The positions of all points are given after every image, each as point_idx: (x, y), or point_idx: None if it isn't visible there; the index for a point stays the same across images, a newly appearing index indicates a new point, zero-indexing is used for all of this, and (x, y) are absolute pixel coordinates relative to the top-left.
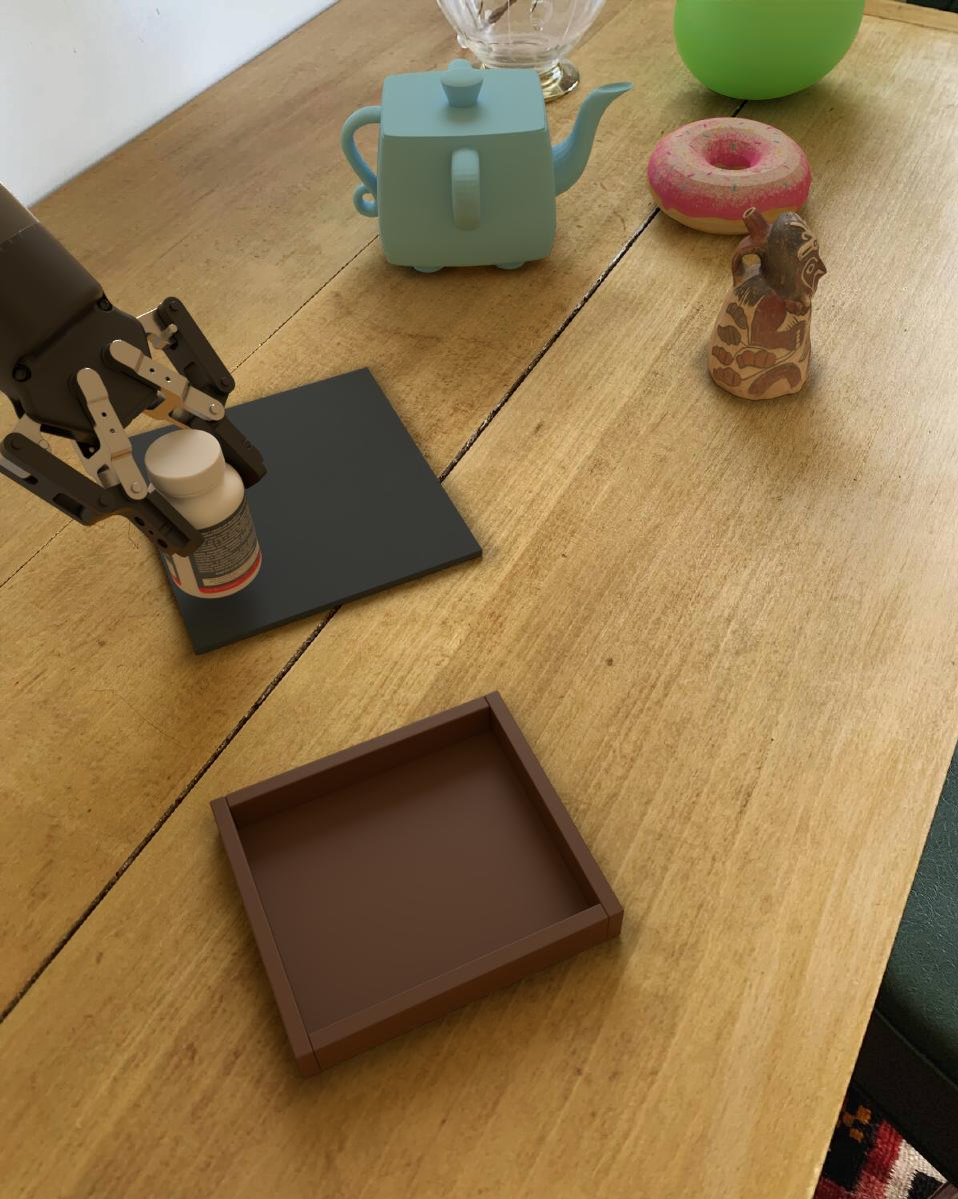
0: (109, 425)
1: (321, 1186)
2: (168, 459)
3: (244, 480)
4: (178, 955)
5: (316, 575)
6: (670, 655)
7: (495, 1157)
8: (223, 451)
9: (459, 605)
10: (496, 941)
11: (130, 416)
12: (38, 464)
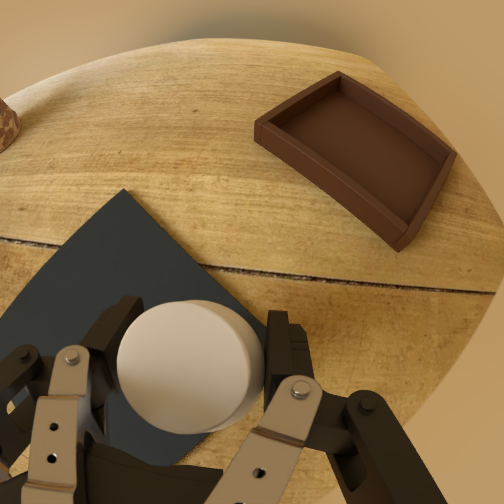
0: (253, 484)
1: (458, 154)
2: (202, 385)
3: None
4: (450, 235)
5: (176, 292)
6: (183, 94)
7: (418, 112)
8: None
9: (172, 187)
10: (366, 116)
11: (174, 471)
12: (432, 500)
